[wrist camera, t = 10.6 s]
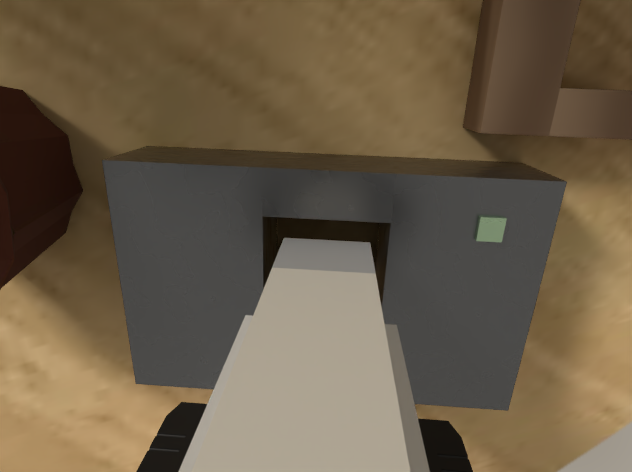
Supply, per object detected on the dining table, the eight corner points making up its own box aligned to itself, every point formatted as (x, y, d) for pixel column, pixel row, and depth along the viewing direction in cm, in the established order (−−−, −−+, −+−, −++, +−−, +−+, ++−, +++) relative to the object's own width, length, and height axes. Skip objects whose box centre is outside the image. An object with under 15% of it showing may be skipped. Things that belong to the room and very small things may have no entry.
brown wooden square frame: (462, 127, 19) (480, 133, 16) (506, -149, 15) (536, -193, 13) (688, 136, 18) (740, 143, 16) (787, -146, 15) (872, -190, 12)
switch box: (168, 336, 24) (133, 386, 20) (147, 146, 20) (99, 161, 16) (480, 357, 23) (509, 413, 19) (522, 162, 19) (569, 182, 15)
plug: (283, 346, 19) (159, 880, 6) (284, 237, 17) (107, 685, 4) (360, 351, 19) (398, 911, 6) (370, 242, 17) (454, 721, 4)
